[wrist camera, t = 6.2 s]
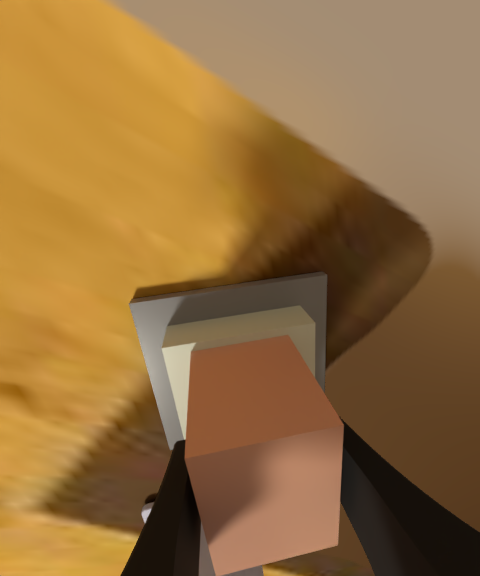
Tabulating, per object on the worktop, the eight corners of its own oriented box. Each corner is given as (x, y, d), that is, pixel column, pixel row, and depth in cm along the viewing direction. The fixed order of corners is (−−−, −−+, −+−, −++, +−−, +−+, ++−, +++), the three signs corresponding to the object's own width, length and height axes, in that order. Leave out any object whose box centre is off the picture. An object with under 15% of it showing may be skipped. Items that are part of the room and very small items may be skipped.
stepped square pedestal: (320, 411, 18) (339, 446, 15) (171, 441, 17) (166, 483, 14) (322, 271, 14) (347, 288, 12) (131, 298, 13) (116, 323, 11)
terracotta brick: (292, 429, 14) (337, 545, 10) (210, 446, 14) (216, 576, 9) (288, 334, 12) (343, 424, 7) (190, 351, 12) (184, 458, 7)
